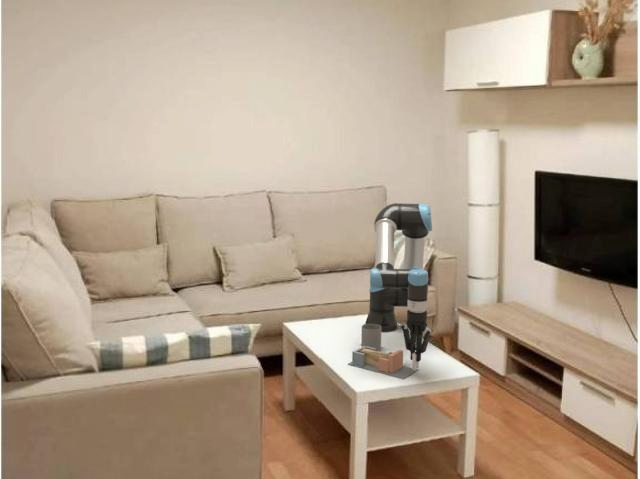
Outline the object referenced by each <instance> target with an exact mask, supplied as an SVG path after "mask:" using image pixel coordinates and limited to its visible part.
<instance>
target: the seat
mask: <svg viewBox="0 0 640 479" xmlns="http://www.w3.org/2000/svg"><path fill="white" fill-rule="evenodd" d="M363 349H369V350H373V351H376V348H372V347H368V346H363V347H359V348H356V349H355V350H353V351H352V354H351V355H352V356H351V359H352V360H351V362H348V363H347V365H349V366H351V367H356V368H360V369H364V370H367V371H371V372H375V373H378V374H383V375H387V376H391V377H394V378H397V379H402V380H405V379H407V378H408V377H410V376H411V375H413V374H415V373H417V372H419V371H420V369H419V368H418V369H416V370H413V369H412V366H411V367H410V366H406V365H403V367H402V368H400V369H399V370H397V371H395V372H393V373H387V372H383V371H379V370H378V368H377V367H374V366H370V365H366V364H365V354H364V353H360V352H359V351H361V350H363Z"/></svg>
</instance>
